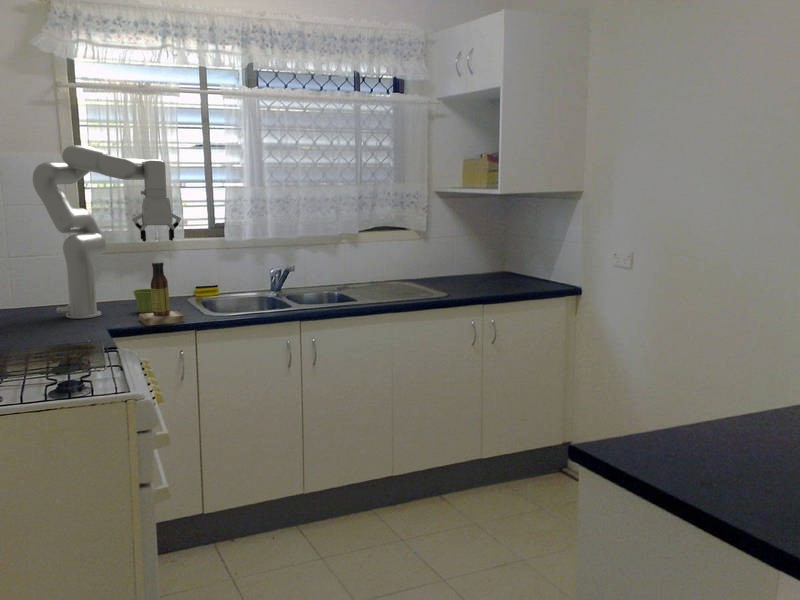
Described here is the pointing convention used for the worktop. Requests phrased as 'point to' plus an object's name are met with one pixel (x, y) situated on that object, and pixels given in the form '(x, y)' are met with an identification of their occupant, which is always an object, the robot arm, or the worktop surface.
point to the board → (161, 318)
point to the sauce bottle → (159, 291)
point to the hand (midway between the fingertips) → (157, 240)
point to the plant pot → (143, 300)
